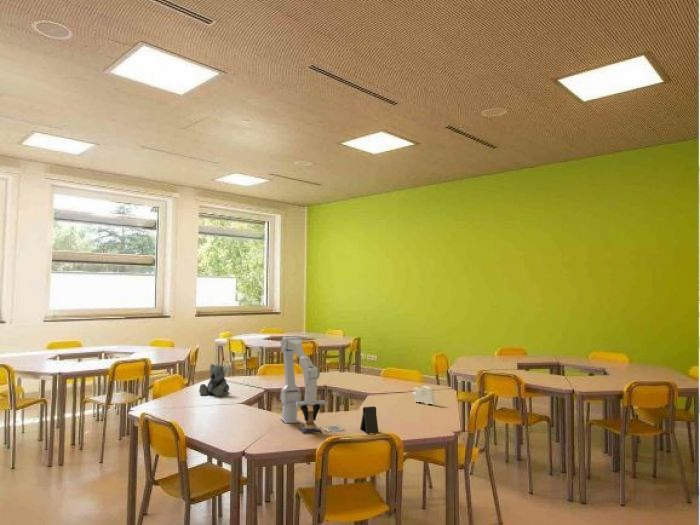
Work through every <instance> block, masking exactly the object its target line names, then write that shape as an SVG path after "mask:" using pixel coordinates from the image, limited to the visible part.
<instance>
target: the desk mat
mask: <svg viewBox="0 0 700 525" xmlns="http://www.w3.org/2000/svg"><path fill="white" fill-rule="evenodd" d="M322 427H323V428H324V427H325V429H326V428H327V427H329V428H328V429H329V430H330V432H329V433H333V432H332V431H335V432H344V431H343V430H346V429H345V428H343V427H342V426H341V425H339V424H334V425H325V426H322ZM330 428H331V429H330ZM327 431H328V430H327V429H326V431H325V432H326V433H328V432H327Z"/></svg>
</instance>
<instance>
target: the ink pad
mask: <svg viewBox="0 0 700 525" xmlns="http://www.w3.org/2000/svg"><path fill="white" fill-rule="evenodd" d="M298 430H299V431H300V432H301V433H302V434H303V435H305V434H306V433H309V434H316V433H315V432H320V433H322V429H320V428H319V427H318V426H317V425H316V429H308V430H306V429H305V428H304V425H303V426H298ZM306 435H307V434H306Z"/></svg>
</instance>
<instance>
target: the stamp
mask: <svg viewBox="0 0 700 525" xmlns="http://www.w3.org/2000/svg"><path fill="white" fill-rule="evenodd" d="M307 418H308V419H307V421H305V422H304V423H303V426H304V428H305V429H306V430H308V429H316V426H317V424H316V423H315V422H314V411H313V410H308V414H307Z"/></svg>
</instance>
